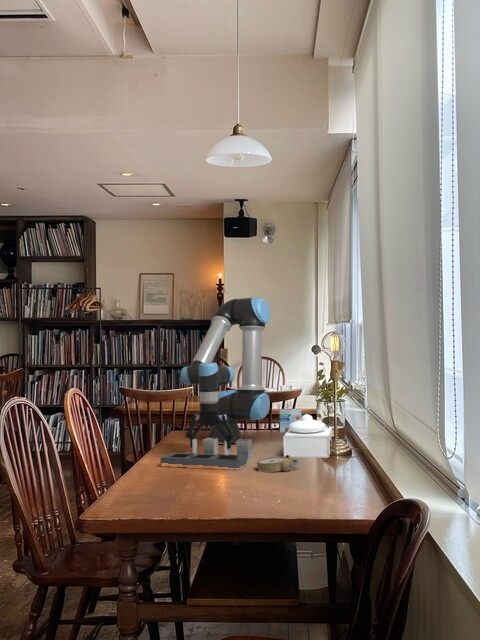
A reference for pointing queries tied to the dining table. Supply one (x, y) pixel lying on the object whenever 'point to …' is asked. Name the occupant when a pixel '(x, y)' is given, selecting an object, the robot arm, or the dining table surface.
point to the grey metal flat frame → (205, 459)
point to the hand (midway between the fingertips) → (210, 456)
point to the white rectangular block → (244, 448)
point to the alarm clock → (276, 463)
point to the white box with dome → (307, 439)
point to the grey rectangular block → (210, 446)
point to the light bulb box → (289, 418)
